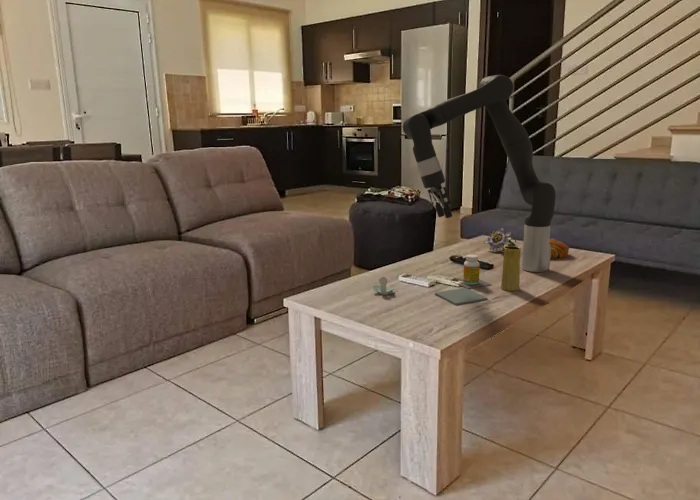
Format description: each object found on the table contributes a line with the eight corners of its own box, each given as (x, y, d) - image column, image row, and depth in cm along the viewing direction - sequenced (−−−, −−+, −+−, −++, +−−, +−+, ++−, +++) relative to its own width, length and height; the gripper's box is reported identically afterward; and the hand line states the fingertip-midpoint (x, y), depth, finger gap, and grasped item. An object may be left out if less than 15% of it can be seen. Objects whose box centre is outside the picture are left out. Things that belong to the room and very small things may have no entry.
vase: (520, 291, 181) (522, 250, 177) (501, 290, 182) (503, 249, 179) (518, 286, 187) (520, 245, 183) (500, 285, 188) (502, 245, 184)
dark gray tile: (474, 277, 197) (474, 277, 197) (491, 285, 188) (491, 284, 188) (450, 281, 193) (450, 280, 193) (467, 289, 185) (467, 288, 184)
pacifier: (379, 289, 187) (370, 293, 182) (379, 271, 185) (370, 275, 180) (398, 292, 183) (390, 297, 178) (398, 274, 182) (390, 278, 177)
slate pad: (465, 289, 184) (465, 287, 184) (487, 299, 173) (487, 297, 173) (434, 294, 180) (434, 292, 179) (455, 305, 169) (455, 303, 169)
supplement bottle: (469, 285, 187) (470, 258, 185) (460, 281, 192) (460, 255, 190) (482, 283, 190) (483, 256, 187) (472, 279, 194) (473, 253, 192)
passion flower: (494, 264, 235) (478, 241, 235) (502, 254, 244) (487, 232, 244) (516, 253, 228) (499, 229, 228) (523, 243, 236) (507, 220, 236)
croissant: (528, 262, 225) (528, 244, 223) (536, 249, 238) (536, 232, 235) (565, 265, 218) (566, 247, 216) (571, 252, 231) (572, 234, 228)
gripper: (447, 167, 178) (462, 214, 181) (434, 169, 192) (448, 212, 195) (426, 175, 177) (441, 221, 180) (415, 176, 192) (429, 219, 194)
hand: (445, 216), depth 187 cm, fingers open, 8 cm apart
